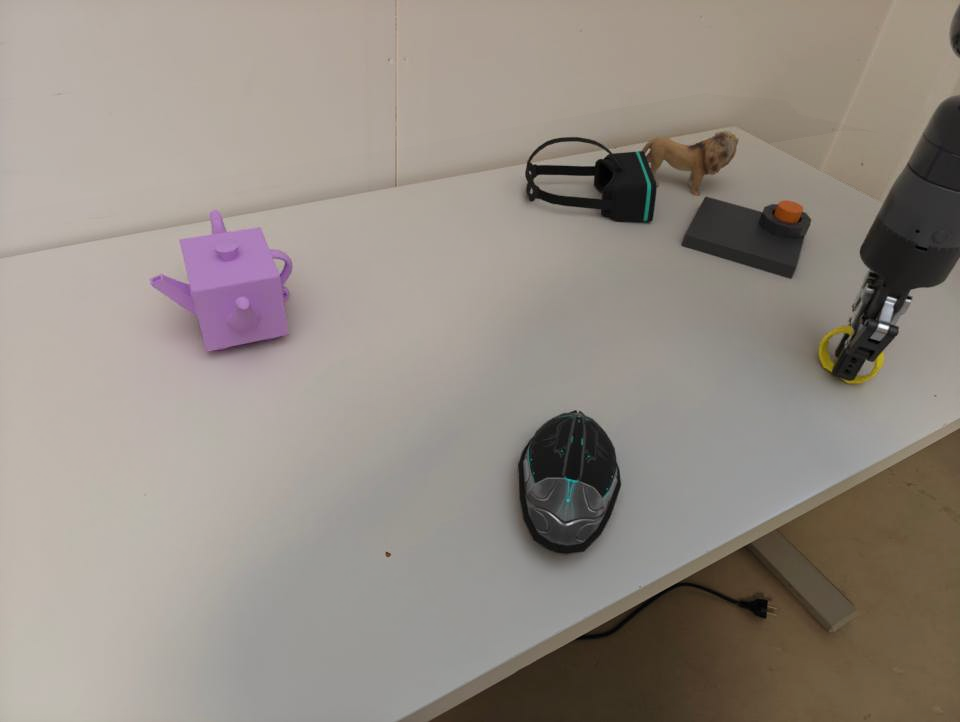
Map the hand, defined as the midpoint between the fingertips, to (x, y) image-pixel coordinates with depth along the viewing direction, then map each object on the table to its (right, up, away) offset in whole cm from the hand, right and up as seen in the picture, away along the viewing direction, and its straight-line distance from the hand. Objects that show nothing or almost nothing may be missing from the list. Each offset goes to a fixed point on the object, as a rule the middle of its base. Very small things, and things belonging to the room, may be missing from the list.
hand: (843, 366), depth 72 cm
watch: (0, -1, +1) cm, 1 cm away
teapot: (-63, +4, 0) cm, 64 cm away
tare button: (+3, +20, +19) cm, 27 cm away
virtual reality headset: (-23, +23, +25) cm, 41 cm away
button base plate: (-3, +17, +20) cm, 26 cm away
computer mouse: (-31, -10, -13) cm, 35 cm away
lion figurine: (-9, +27, +31) cm, 42 cm away
